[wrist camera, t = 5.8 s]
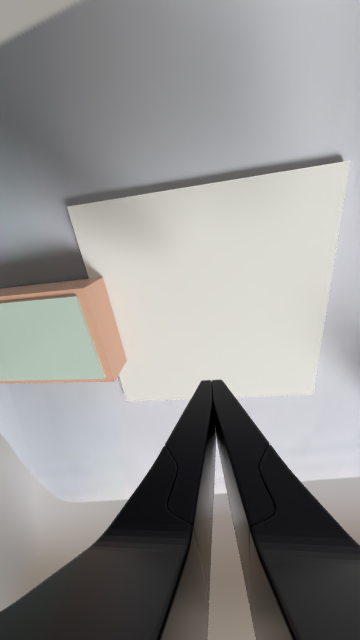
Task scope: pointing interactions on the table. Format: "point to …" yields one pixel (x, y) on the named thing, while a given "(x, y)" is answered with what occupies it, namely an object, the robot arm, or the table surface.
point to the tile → (59, 333)
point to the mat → (219, 280)
